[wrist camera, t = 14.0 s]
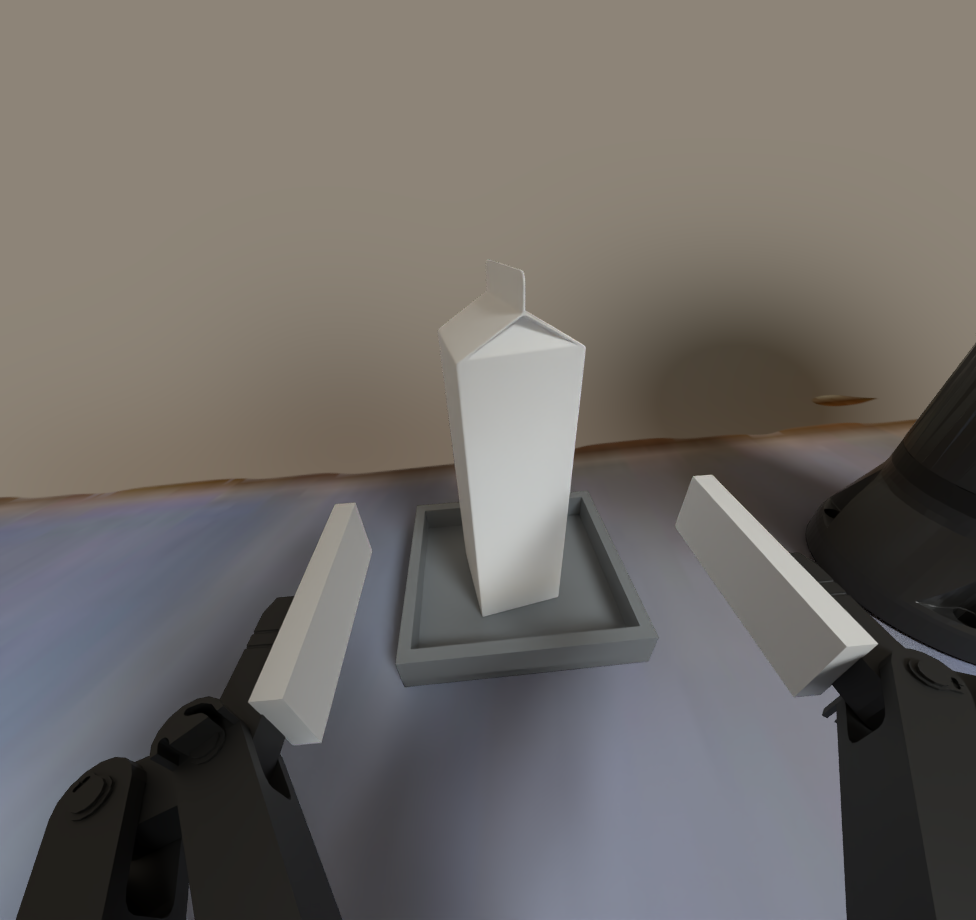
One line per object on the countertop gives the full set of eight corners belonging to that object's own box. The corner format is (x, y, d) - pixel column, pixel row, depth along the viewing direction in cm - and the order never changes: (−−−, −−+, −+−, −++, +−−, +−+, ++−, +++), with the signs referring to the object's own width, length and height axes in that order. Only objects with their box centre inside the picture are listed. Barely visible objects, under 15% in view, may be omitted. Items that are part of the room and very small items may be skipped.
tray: (584, 514, 35) (587, 490, 33) (648, 661, 23) (658, 637, 21) (422, 528, 34) (416, 505, 32) (404, 686, 22) (395, 664, 21)
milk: (531, 540, 31) (542, 254, 19) (559, 599, 26) (600, 264, 14) (464, 555, 30) (428, 262, 18) (480, 620, 25) (447, 276, 13)
